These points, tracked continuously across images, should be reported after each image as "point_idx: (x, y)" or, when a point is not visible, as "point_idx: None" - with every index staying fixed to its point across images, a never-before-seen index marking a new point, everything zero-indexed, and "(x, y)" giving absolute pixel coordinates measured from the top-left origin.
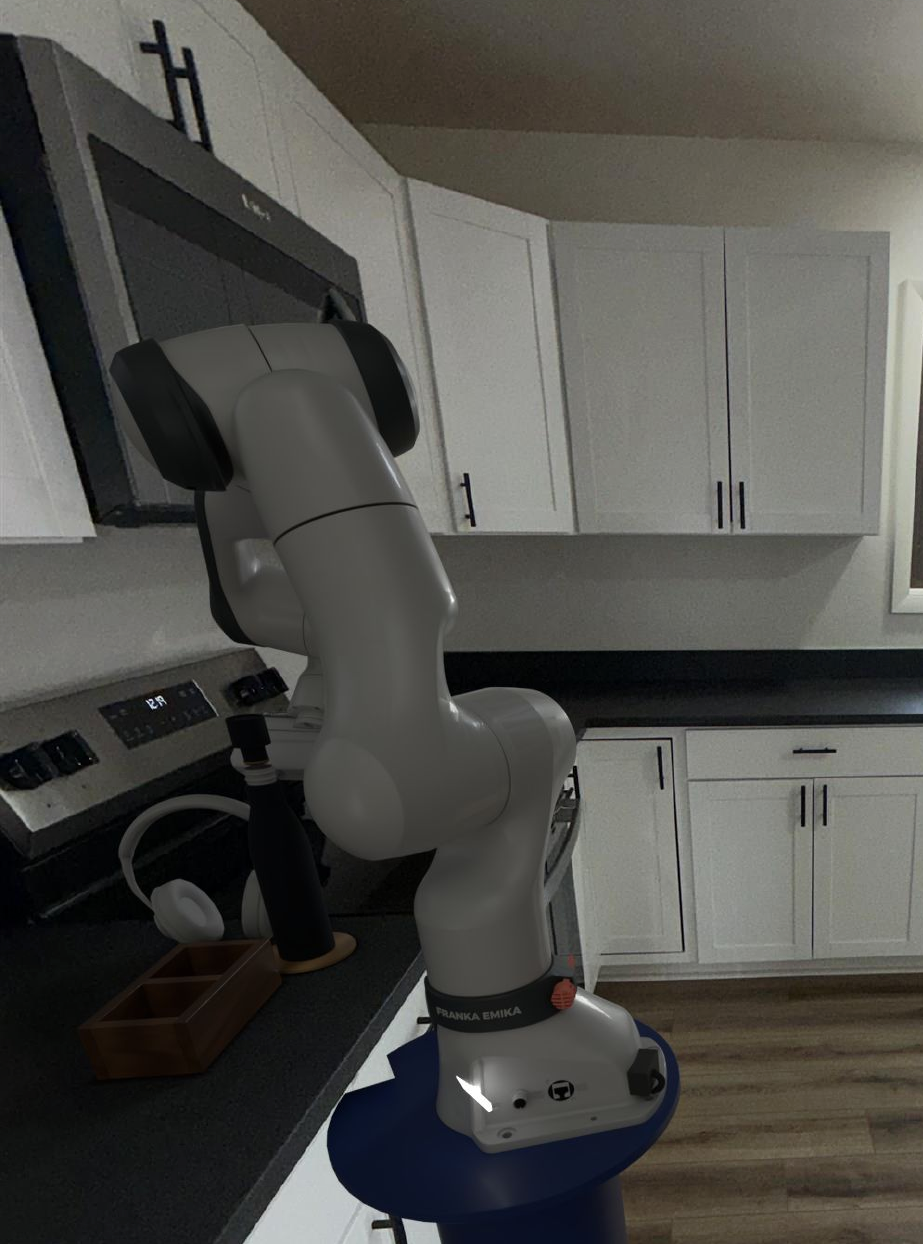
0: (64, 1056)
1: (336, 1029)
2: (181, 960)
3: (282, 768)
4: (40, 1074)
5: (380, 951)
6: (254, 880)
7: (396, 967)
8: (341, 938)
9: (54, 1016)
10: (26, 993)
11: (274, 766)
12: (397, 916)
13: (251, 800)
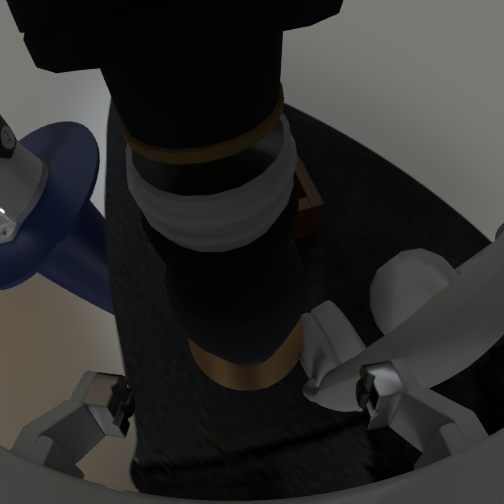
0: (313, 136)
1: (120, 201)
2: (300, 191)
3: (355, 488)
4: (305, 121)
5: (156, 352)
6: (338, 329)
7: (117, 315)
8: (225, 372)
9: (383, 176)
10: (441, 203)
11: (404, 477)
12: (200, 454)
13: (239, 174)
